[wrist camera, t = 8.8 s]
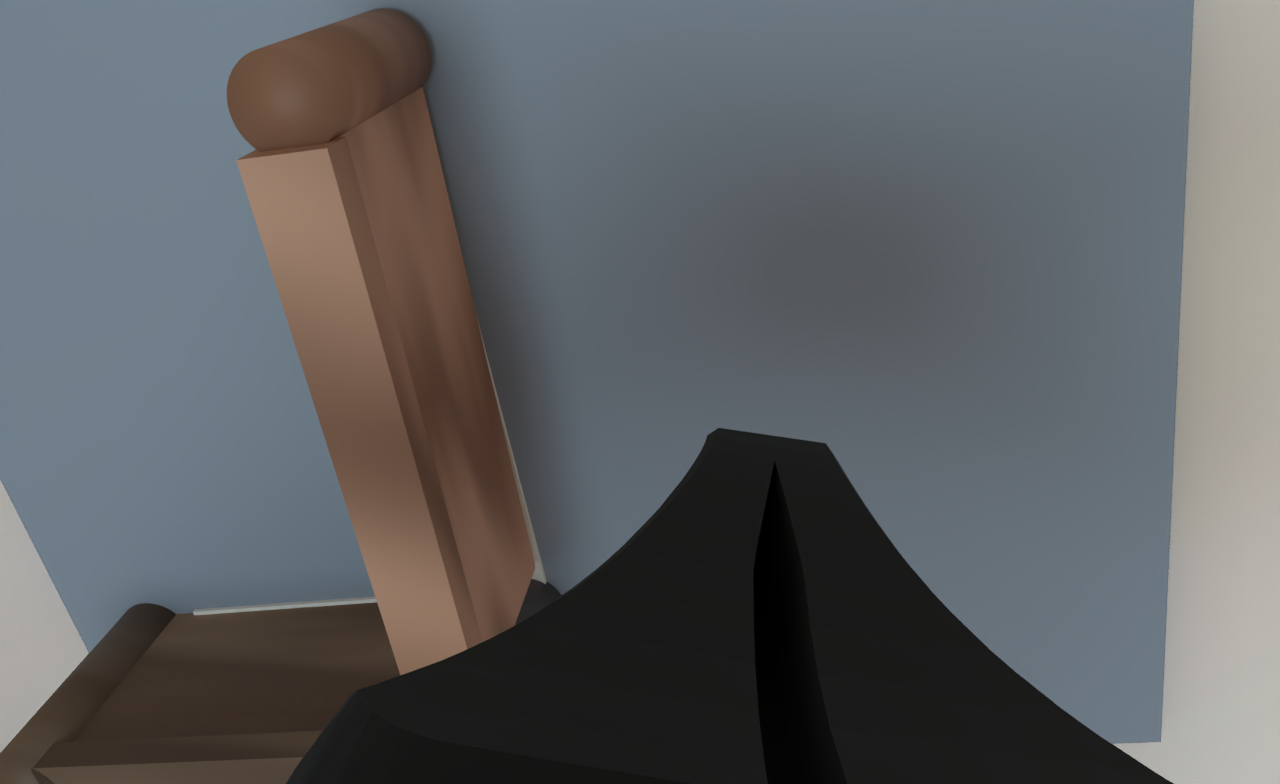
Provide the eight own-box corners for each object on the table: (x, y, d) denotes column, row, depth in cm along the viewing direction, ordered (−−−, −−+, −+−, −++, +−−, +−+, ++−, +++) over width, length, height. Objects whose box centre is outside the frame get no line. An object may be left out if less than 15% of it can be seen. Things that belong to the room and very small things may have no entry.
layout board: (1155, 728, 24) (1162, 744, 24) (161, 768, 29) (151, 782, 29) (1195, -265, 16) (1208, -268, 15) (-211, 28, 21) (-233, 32, 20)
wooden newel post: (548, 566, 23) (494, 725, 19) (480, 570, 24) (411, 727, 19) (419, 2, 18) (305, 44, 14) (335, 14, 19) (197, 60, 14)
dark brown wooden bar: (573, 634, 25) (524, 811, 20) (138, 661, 27) (5, 825, 22) (557, 572, 24) (502, 740, 19) (112, 605, 26) (-34, 764, 22)
